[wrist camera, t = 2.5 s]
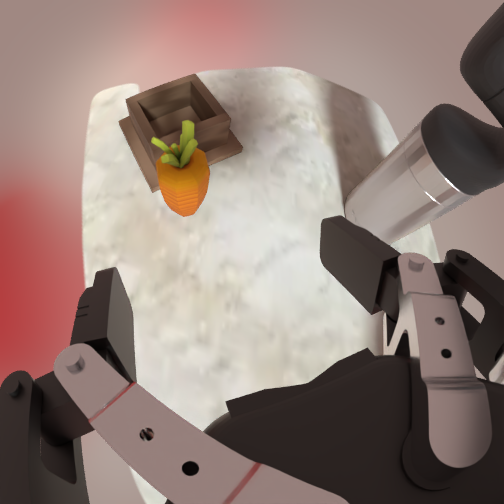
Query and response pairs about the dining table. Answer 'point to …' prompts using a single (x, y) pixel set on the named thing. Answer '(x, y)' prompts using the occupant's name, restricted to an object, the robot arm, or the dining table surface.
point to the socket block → (176, 123)
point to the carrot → (183, 172)
